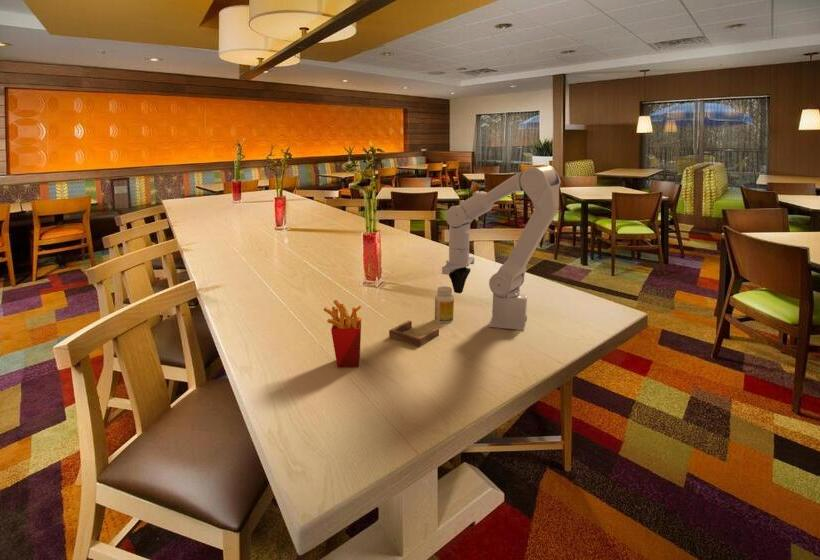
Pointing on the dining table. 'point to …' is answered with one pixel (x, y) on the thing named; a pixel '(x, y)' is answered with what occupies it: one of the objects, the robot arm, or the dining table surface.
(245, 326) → the dining table surface
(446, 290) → the supplement bottle
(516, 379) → the dining table surface
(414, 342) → the brown wooden u-shaped frame
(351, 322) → the french fries
